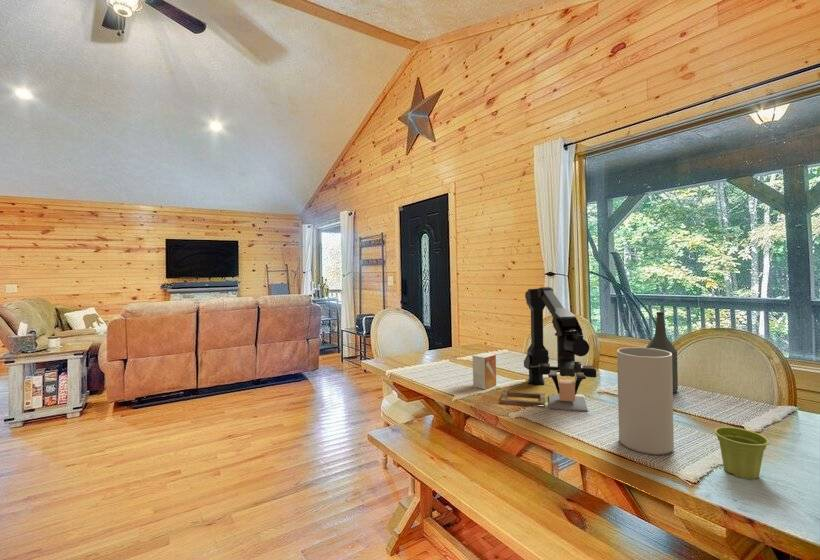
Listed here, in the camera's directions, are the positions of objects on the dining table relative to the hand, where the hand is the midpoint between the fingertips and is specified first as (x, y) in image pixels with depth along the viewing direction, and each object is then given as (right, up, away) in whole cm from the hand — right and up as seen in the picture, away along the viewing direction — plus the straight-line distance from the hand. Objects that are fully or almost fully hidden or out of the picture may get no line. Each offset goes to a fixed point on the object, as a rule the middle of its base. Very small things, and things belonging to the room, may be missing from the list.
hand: (566, 394), depth 137 cm
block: (0, -2, 0) cm, 2 cm away
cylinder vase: (+8, -4, -33) cm, 34 cm away
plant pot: (+20, -4, -48) cm, 53 cm away
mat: (0, -3, 0) cm, 3 cm away
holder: (-14, -4, +5) cm, 15 cm away
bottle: (+41, -2, +12) cm, 43 cm away
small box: (-24, -4, +23) cm, 34 cm away
